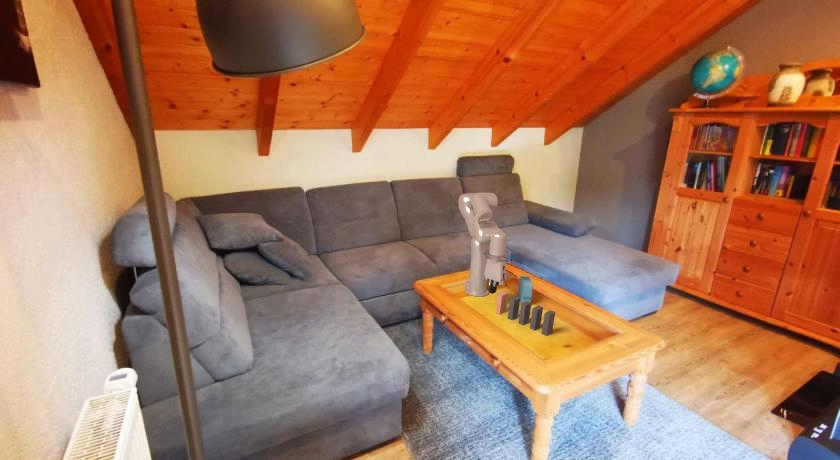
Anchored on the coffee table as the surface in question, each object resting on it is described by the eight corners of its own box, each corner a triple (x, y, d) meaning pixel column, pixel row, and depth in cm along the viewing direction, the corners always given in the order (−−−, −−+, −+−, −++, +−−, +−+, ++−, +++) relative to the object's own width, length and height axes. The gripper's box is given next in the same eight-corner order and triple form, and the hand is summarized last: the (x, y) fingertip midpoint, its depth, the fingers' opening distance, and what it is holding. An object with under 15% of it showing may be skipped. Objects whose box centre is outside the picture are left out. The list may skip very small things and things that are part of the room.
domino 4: (529, 328, 181) (532, 308, 179) (535, 325, 185) (538, 305, 182) (534, 330, 180) (537, 310, 177) (540, 327, 183) (543, 307, 181)
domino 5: (541, 333, 177) (544, 313, 175) (547, 330, 181) (550, 310, 178) (546, 335, 176) (549, 315, 173) (552, 332, 179) (555, 312, 176)
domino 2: (507, 318, 190) (510, 298, 187) (513, 315, 193) (516, 296, 191) (511, 320, 188) (514, 300, 186) (517, 317, 191) (520, 298, 189)
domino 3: (518, 323, 186) (521, 303, 183) (524, 320, 189) (527, 300, 186) (522, 325, 184) (525, 305, 181) (528, 322, 187) (531, 302, 185)
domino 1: (495, 313, 195) (497, 294, 192) (501, 310, 198) (503, 291, 195) (499, 314, 193) (502, 295, 190) (505, 312, 196) (508, 293, 194)
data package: (530, 306, 205) (533, 284, 202) (521, 305, 205) (524, 283, 202) (525, 296, 217) (528, 275, 214) (517, 295, 217) (520, 275, 214)
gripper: (514, 260, 190) (509, 296, 195) (488, 252, 201) (485, 286, 205) (504, 263, 185) (500, 299, 190) (479, 254, 196) (475, 289, 200)
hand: (492, 292), depth 197 cm, fingers closed
